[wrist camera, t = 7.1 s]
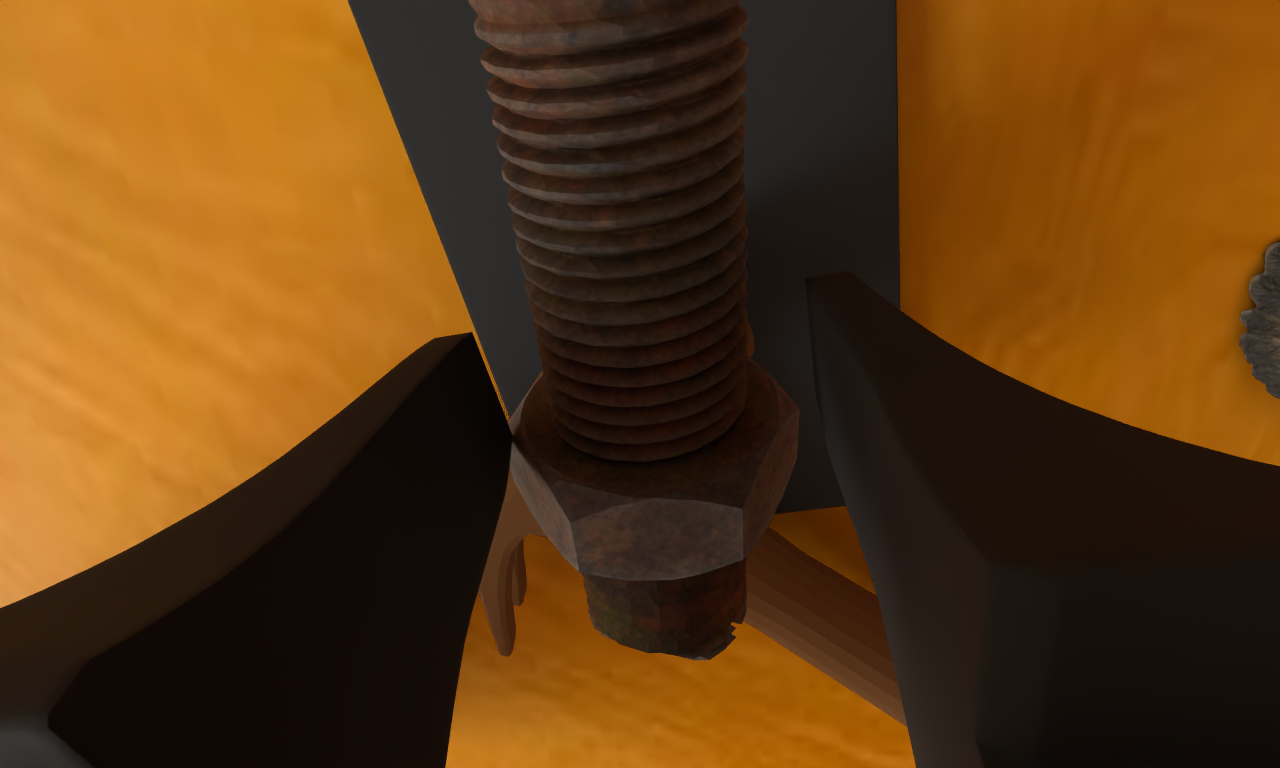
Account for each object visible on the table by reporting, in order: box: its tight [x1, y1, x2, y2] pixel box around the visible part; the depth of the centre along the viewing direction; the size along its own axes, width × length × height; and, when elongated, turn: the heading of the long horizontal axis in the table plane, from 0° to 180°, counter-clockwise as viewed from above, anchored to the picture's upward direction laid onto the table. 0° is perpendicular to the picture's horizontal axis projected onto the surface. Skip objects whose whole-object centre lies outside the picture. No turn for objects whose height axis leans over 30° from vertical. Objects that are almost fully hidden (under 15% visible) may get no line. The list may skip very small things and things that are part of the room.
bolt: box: [469, 0, 799, 660], centre depth 11 cm, size 6×5×15 cm
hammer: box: [478, 321, 907, 726], centre depth 23 cm, size 12×3×30 cm
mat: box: [348, 0, 900, 514], centre depth 16 cm, size 10×19×1 cm, turn 12°
